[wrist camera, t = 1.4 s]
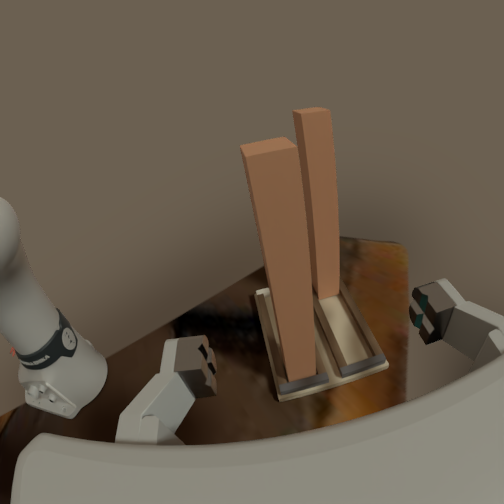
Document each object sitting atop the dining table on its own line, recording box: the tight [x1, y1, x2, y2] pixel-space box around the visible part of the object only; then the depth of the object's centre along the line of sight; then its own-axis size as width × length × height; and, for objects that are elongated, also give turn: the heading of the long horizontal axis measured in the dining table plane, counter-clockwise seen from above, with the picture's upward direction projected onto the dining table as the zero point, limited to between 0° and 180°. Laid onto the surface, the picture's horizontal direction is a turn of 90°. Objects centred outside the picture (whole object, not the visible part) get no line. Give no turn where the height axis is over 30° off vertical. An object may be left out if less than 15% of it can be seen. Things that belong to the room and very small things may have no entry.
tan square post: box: [293, 107, 339, 300], centre depth 44 cm, size 4×4×32 cm
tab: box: [240, 137, 316, 382], centre depth 32 cm, size 4×4×32 cm
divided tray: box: [254, 276, 389, 402], centre depth 47 cm, size 17×23×2 cm
